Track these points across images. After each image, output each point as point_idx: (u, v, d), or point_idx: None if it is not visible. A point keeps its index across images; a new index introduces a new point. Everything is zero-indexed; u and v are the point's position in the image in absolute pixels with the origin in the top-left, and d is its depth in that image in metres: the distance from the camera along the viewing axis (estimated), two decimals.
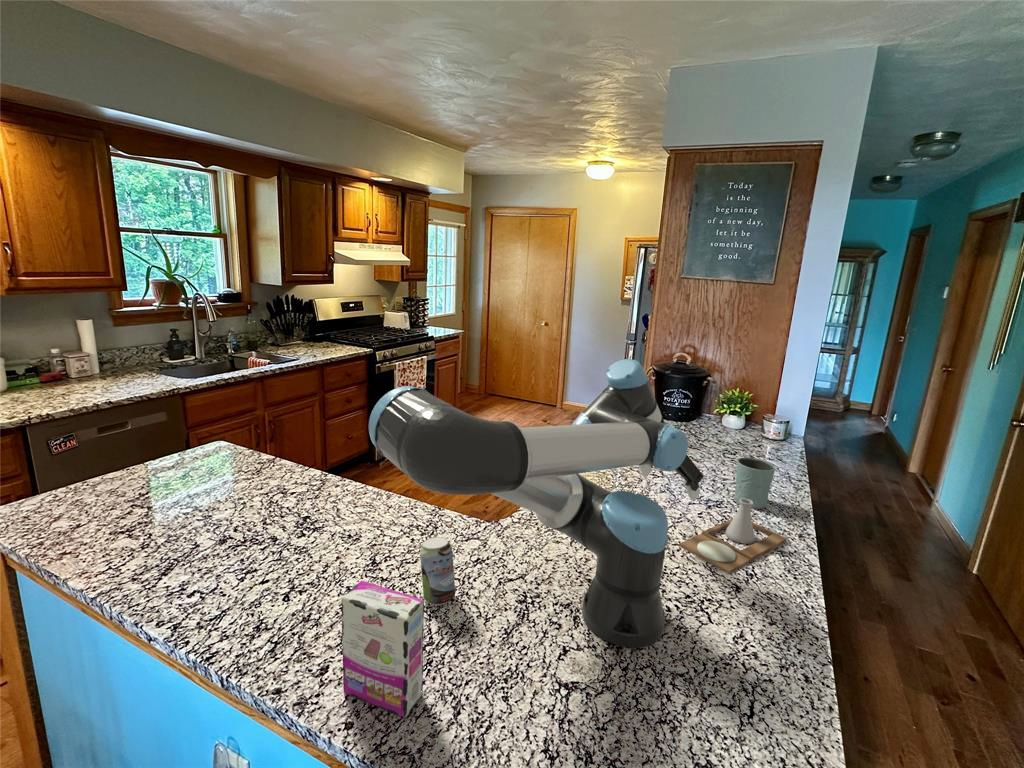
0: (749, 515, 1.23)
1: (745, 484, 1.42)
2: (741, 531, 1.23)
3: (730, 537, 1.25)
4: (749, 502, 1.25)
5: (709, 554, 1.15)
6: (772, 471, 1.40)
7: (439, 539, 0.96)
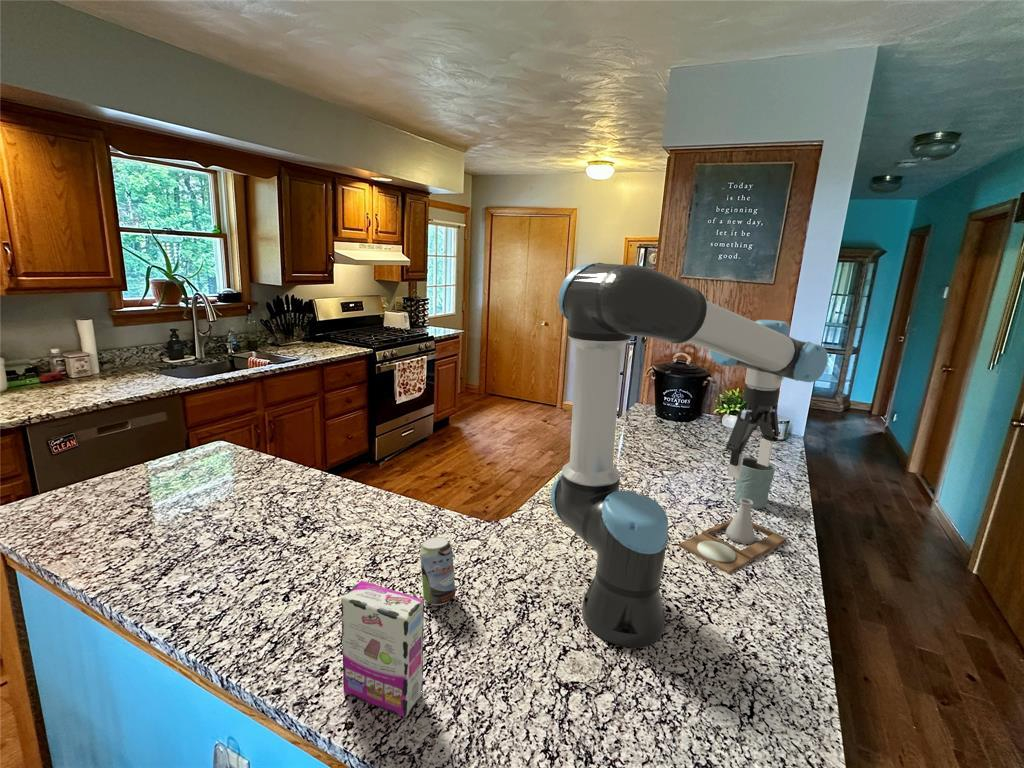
0: (749, 515, 1.23)
1: (745, 484, 1.42)
2: (741, 531, 1.23)
3: (730, 537, 1.25)
4: (749, 502, 1.25)
5: (709, 554, 1.15)
6: (772, 471, 1.40)
7: (439, 539, 0.96)
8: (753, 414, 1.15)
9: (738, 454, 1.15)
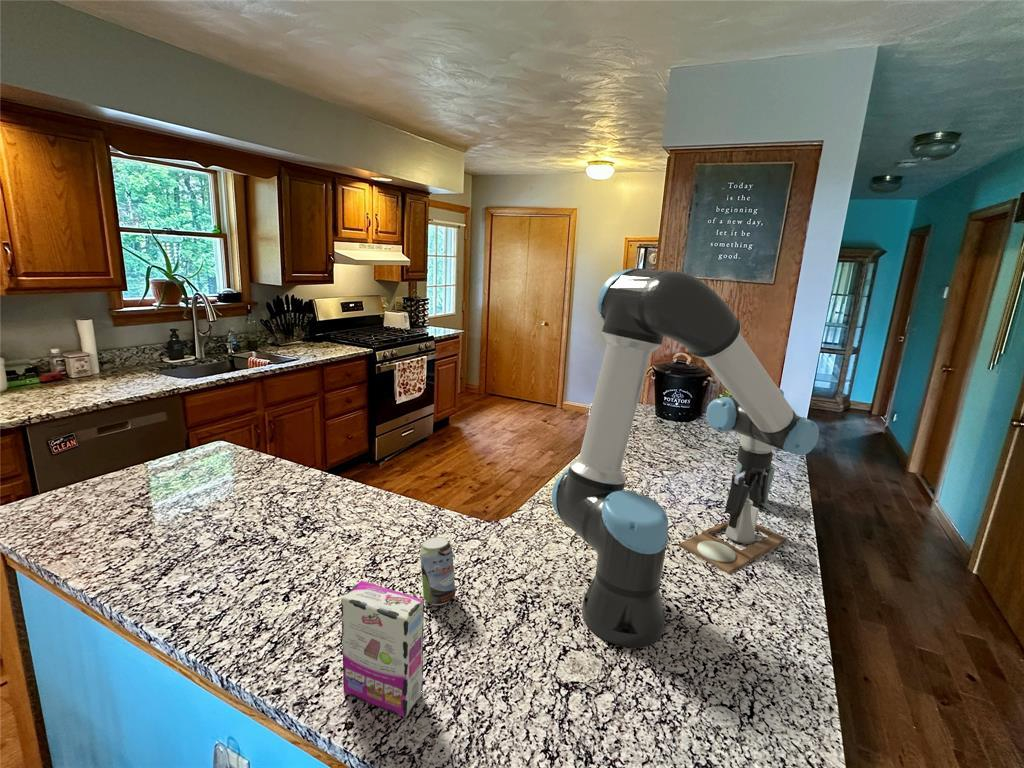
0: (749, 515, 1.23)
1: None
2: (741, 531, 1.23)
3: None
4: (749, 502, 1.25)
5: (709, 554, 1.15)
6: (772, 471, 1.40)
7: (439, 539, 0.96)
8: (746, 475, 1.19)
9: (737, 516, 1.21)
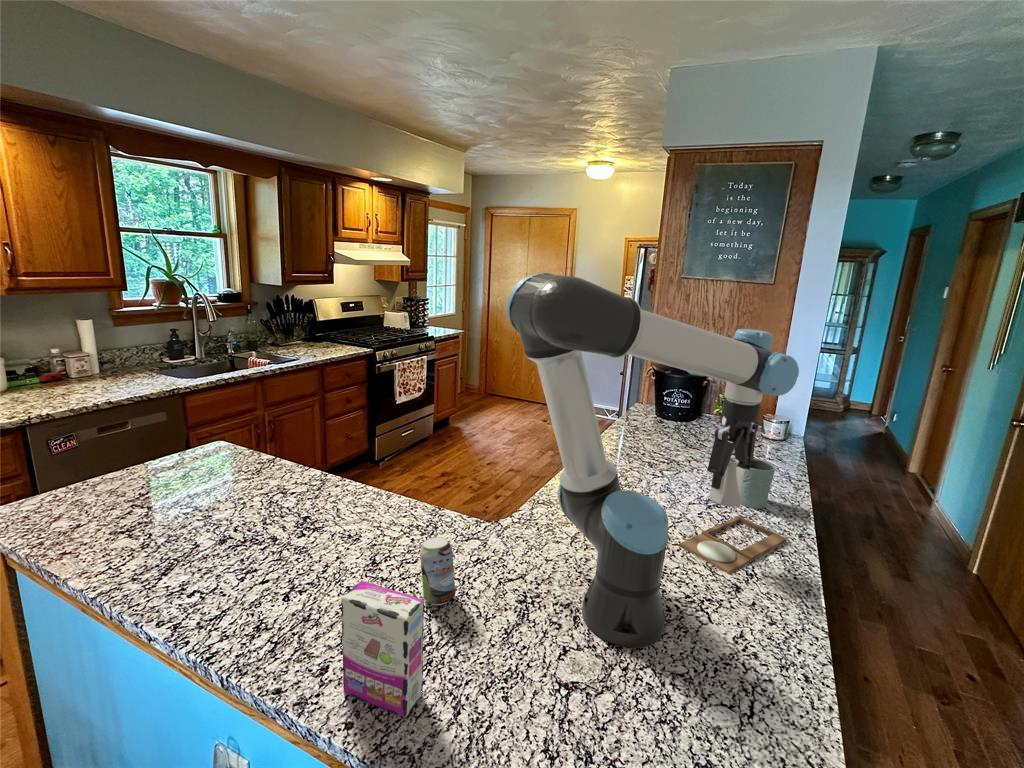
0: (734, 475, 1.12)
1: (745, 484, 1.42)
2: (726, 493, 1.12)
3: None
4: (734, 462, 1.13)
5: (709, 554, 1.15)
6: (772, 471, 1.40)
7: (439, 539, 0.96)
8: (731, 430, 1.07)
9: (721, 476, 1.10)
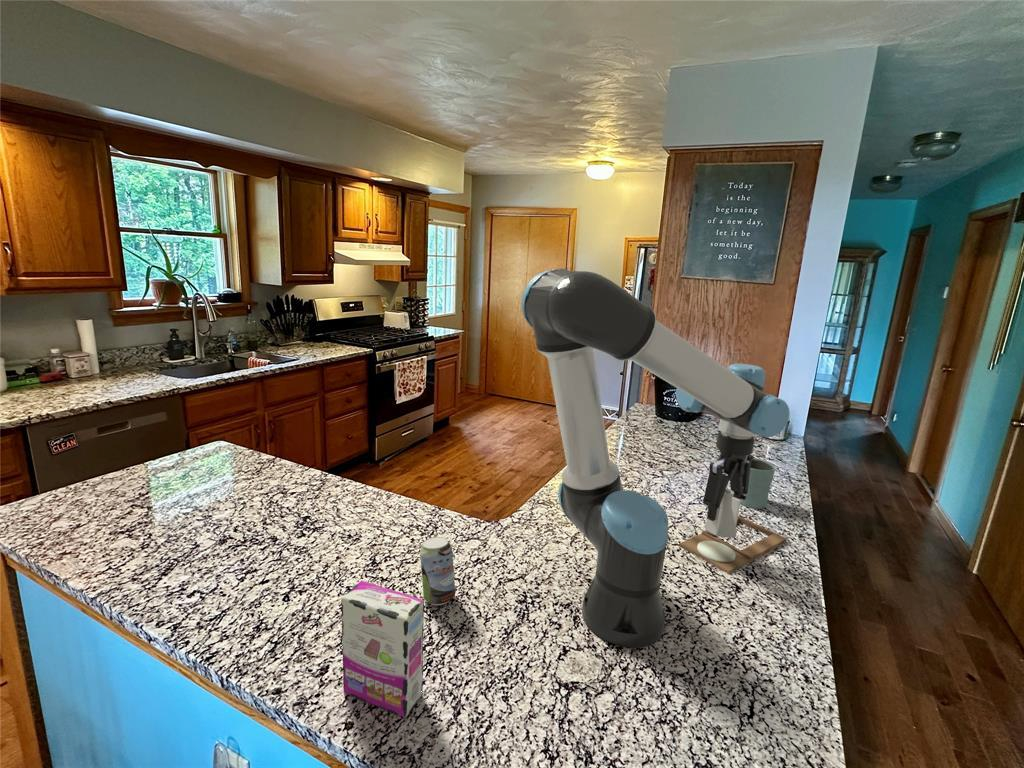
0: (730, 506, 1.13)
1: None
2: (721, 524, 1.13)
3: None
4: (729, 493, 1.15)
5: (709, 554, 1.15)
6: (772, 471, 1.40)
7: (439, 539, 0.96)
8: (726, 463, 1.09)
9: (716, 508, 1.11)
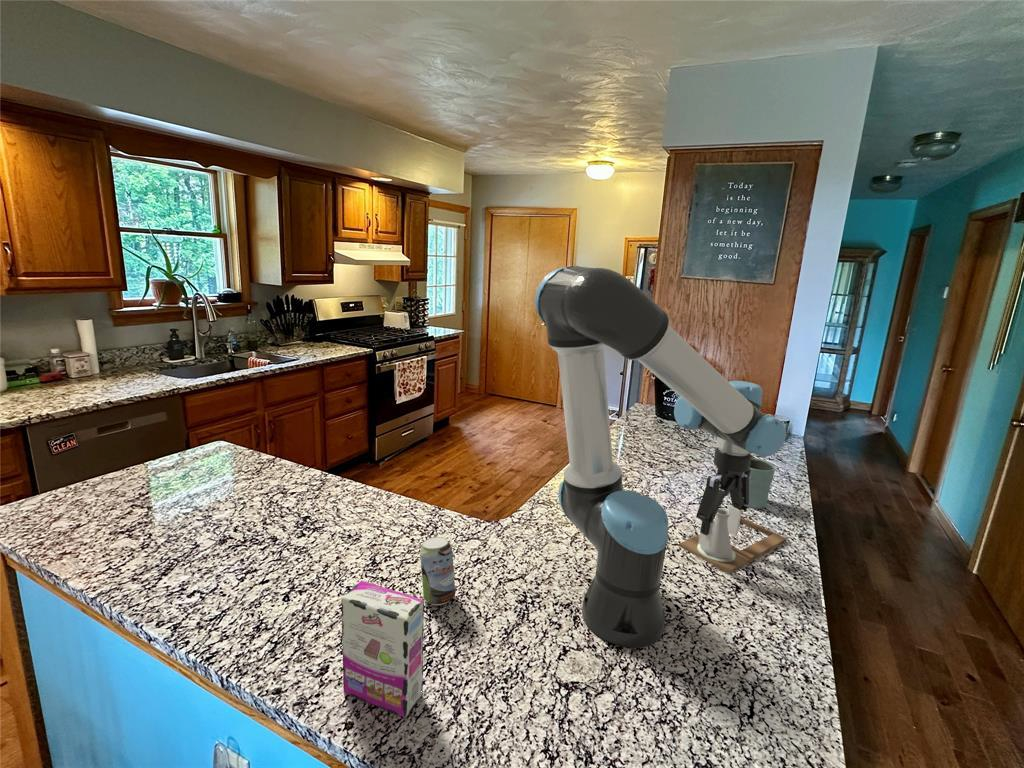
0: (725, 527, 1.14)
1: None
2: (717, 544, 1.14)
3: (705, 551, 1.16)
4: (725, 513, 1.16)
5: None
6: (772, 471, 1.40)
7: (439, 539, 0.96)
8: (723, 479, 1.10)
9: (709, 523, 1.11)
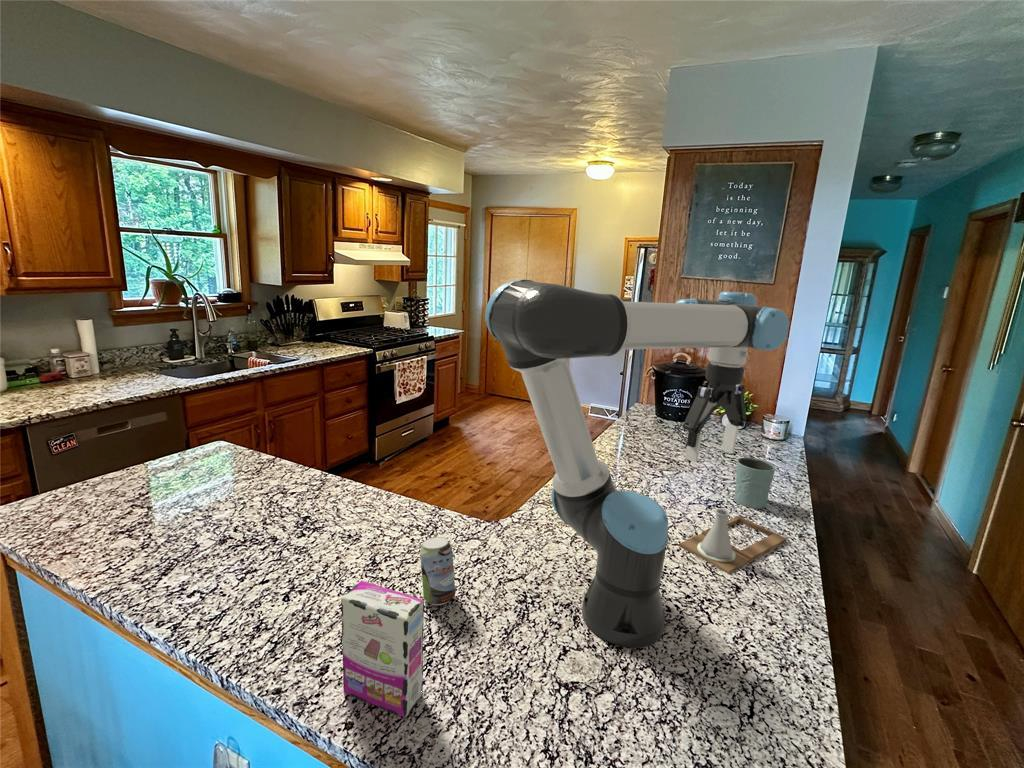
0: (725, 527, 1.14)
1: (745, 484, 1.42)
2: (717, 544, 1.14)
3: (705, 551, 1.16)
4: (725, 513, 1.16)
5: None
6: (772, 471, 1.40)
7: (439, 539, 0.96)
8: (714, 392, 1.07)
9: (695, 434, 1.07)
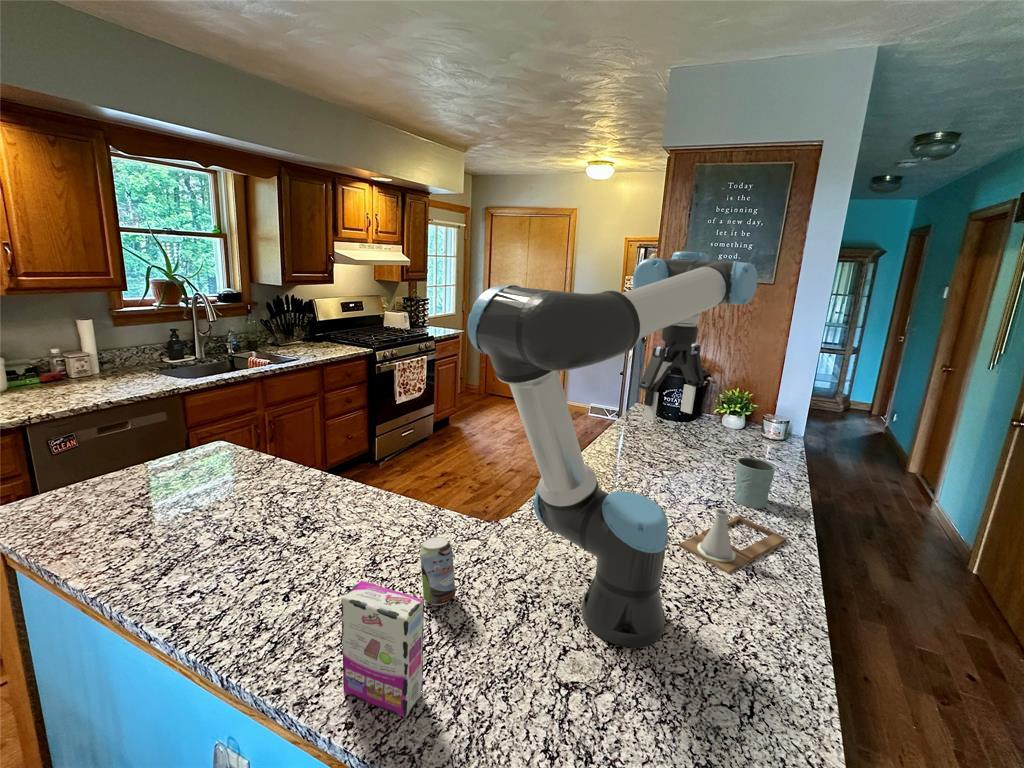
0: (725, 527, 1.14)
1: (745, 484, 1.42)
2: (717, 544, 1.14)
3: (705, 551, 1.16)
4: (725, 513, 1.16)
5: None
6: (772, 471, 1.40)
7: (439, 539, 0.96)
8: (669, 351, 1.09)
9: (652, 393, 1.09)
